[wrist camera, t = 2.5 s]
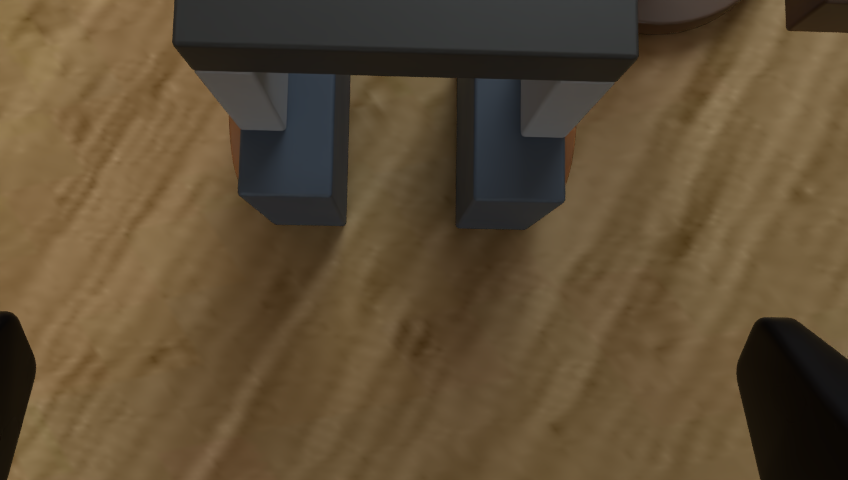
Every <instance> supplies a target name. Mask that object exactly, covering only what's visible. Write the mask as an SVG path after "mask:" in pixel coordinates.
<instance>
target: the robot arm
mask: <svg viewBox="0 0 848 480" xmlns="http://www.w3.org/2000/svg"><path fill="white" fill-rule="evenodd" d="M35 374H36V362H35V357H34V354H33V352H32V350H31V347H30V345H29V343H28V340H27V338H26V336H25V333H24V331H23V328H22V326H21V324H20V321H19V320H18V318H17V316H15V315H14V314H13V313H11V312H8V311H0V480H7V478H8V475H9V471H10V468H11V464H12V460H13V457H14V453H15V449H16V446H17V442H18V438H19V434H20V431H21V427H22V423H23V420H24V416H25V412H26V409H27V405H28V401H29V398H30V394H31V390H32V386H33V383H34V379H35ZM736 374H737V382H738V386H739V391H740V395H741V399H742V403H743V408H744V412H745V416H746V420H747V425H748V429H749V433H750V437H751V442H752V446H753V450H754V454H755V459H756V463H757V467H758V471H759V475H760V479H761V480H848V359H847V358H845V357H844V356H843V355H841V354H840V353H839V352H838V351H836V350H835V349H834V348H832V347H831V346H830V345H828V344H827V343H826V342H824V341H823V340H822V339H821V338H819V337H818V336H817V335H815V334H814V333H813V332H811V331H810V330H809V329H807V328H806V327H805V326H804V325H802V324H801V323H800V322H798V321H796V320H795V319H792V318H776V317H764V318H760V319H758V320H757V321H756V322H755V324H754V325H753V327H752V330H751V332H750V334H749V337H748V339H747V341H746V344H745V346H744V348H743V351H742V353H741V355H740V358H739V360H738V363H737V372H736Z"/></svg>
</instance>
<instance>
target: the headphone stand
mask: <svg viewBox="0 0 848 480" xmlns="http://www.w3.org/2000/svg"><path fill="white" fill-rule="evenodd" d="M740 1H741V0H638V33H640V34H670V33H676V32H682V31H686V30H689V29H693V28H696V27H699V26H702V25H704V24H706V23H708V22H711V21H713V20H715V19H717V18H718V17H720V16H721V15H723V14H725V13H726V12H728V11H729V10H730V9H732V8H733V7H734V6H735V5H736V4H738V3H739V2H740ZM785 11H786V29H787V30H788V31H810V32H842V33H848V0H785Z"/></svg>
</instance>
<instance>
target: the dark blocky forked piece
mask: <svg viewBox="0 0 848 480" xmlns="http://www.w3.org/2000/svg"><path fill="white" fill-rule="evenodd" d="M172 43H173V45H174V47H175V48H176V49H177V51H178V52H179V53H180V54H181V56H182V57H183V58H184V59H185V61H186V62H187V63H188V64H189V66H190V67H191V68H192V69H193V70H194V71H195V73H196V74H197V75H198V77H199V78H200V79H201V80H202V82H203V83H204V84H205V85H206V87H207V88H208V89H209V90H210V92H211V93H212V94H213V95H214V97H215V98H216V99H217V100H218V102H219V103H220V104H221V105H222V107H223V108H224V109H225V110H226V112H227V113H228V114H229V129H230V143H231V151H232V158H233V163H234V168H235V172H236V175H237V178H238V194H239V196H241V197H242V198H243V199H244V200H245V201H247V202H248V203H249V204H250V205H252V206H253V207H254V208H255V209H256V210H258V211H259V212H260V213H261V214H263V215H264V216H265V217H266V218H267V219H269V220H270V221H271V222H272V223H274V224H276V225H323V226H344V225H345V224H346V213H347V176H348V140H349V103H350V75H371V76H407V77H443V78H457V152H456V227H457V228H470V229H519V230H525V229H527V228H529V227H530V226H531V225H533V224H534V223H536V222H537V221H538V220H540V219H541V218H543V217H544V216H545V215H547V214H548V213H550V212H551V211H552V210H554V209H555V208H557V207H558V206H560V205H561V204H562V203H564V201H565V185H566V182H567V179H568V176H569V172H570V168H571V164H572V158H573V152H574V145H575V135H576V125H577V124H578V123H579V122H580V120H581V119H582V118H583V117H584V116H585V115H586V114H587V113H588V112H589V111H590V110H591V108H592V107H593V106H594V105H595V104H596V103H597V102H598V101H599V100H600V99H601V98H602V97H603V95H604V94H605V93H606V92H607V91H608V90H609V89H610V88H611V87H612V86H613V85H614V83H615V82H616V81H618V80H619V78H620V77H621V76H622V75H623V74H624V73H625V72H626V71H627V70H628V69H629V68H630V66H631V65H632V64H633V63H634V62H635V61H636V60H637V58H638V56H639V46H638V0H175V1H174V19H173V38H172Z"/></svg>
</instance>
